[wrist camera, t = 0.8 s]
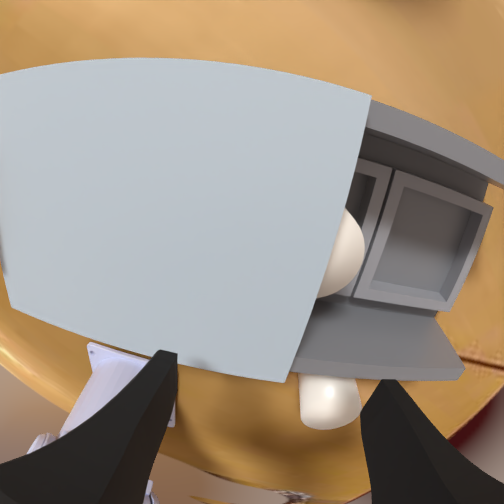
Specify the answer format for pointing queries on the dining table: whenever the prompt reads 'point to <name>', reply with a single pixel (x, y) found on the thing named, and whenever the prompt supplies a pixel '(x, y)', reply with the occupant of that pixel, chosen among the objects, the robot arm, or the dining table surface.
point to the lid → (175, 204)
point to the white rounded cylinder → (328, 401)
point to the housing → (404, 253)
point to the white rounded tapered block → (343, 256)
